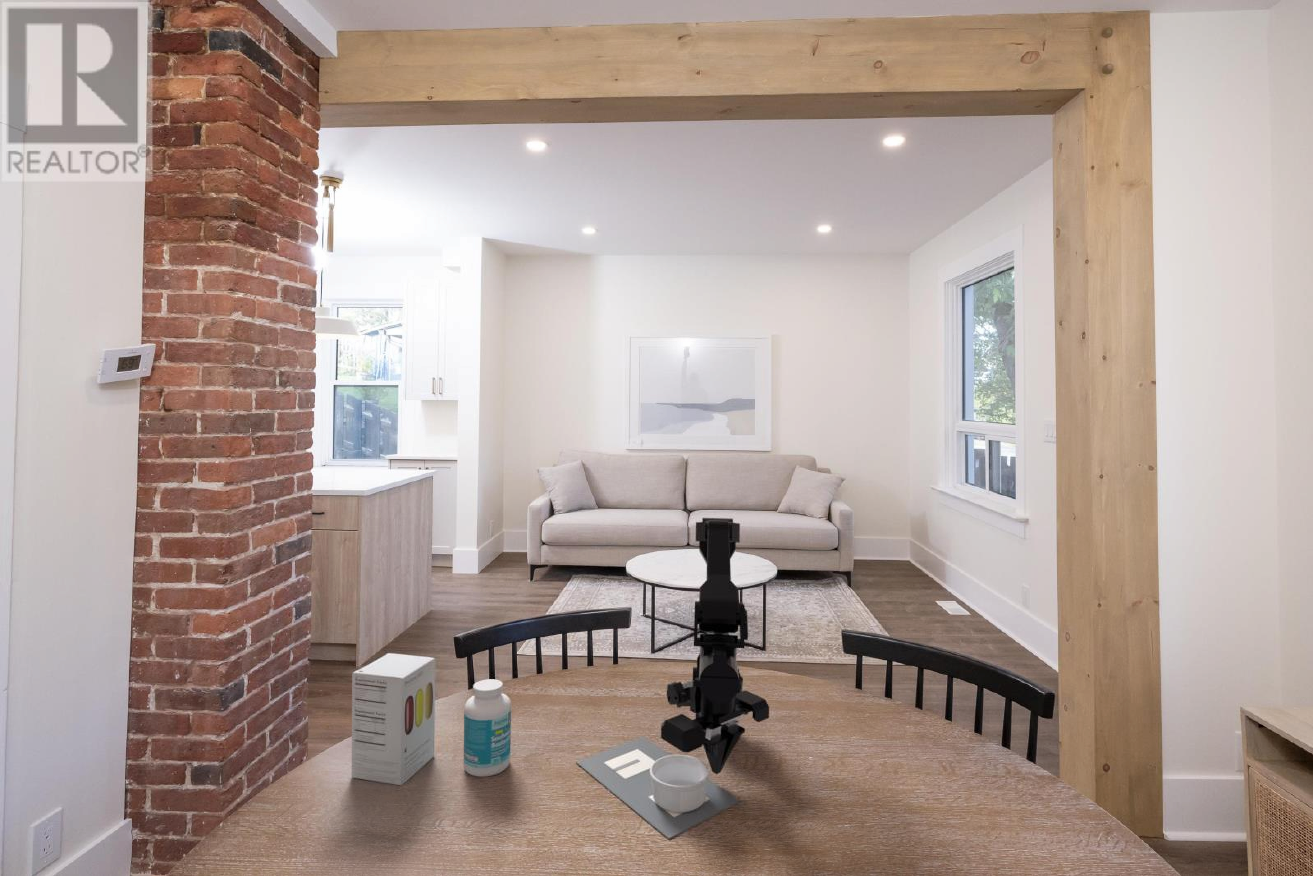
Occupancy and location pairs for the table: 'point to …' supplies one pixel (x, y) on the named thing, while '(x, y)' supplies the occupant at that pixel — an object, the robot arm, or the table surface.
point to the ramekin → (679, 782)
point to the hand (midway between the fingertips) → (716, 772)
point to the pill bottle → (487, 729)
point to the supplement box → (393, 718)
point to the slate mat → (649, 786)
